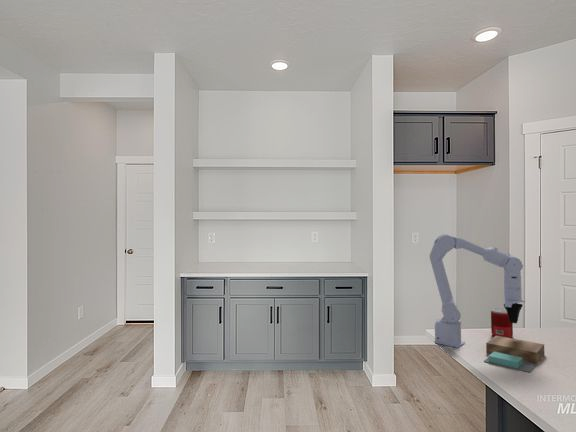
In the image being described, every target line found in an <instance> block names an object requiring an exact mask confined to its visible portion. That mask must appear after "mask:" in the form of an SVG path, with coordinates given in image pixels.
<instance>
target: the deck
mask: <svg viewBox="0 0 576 432" xmlns="http://www.w3.org/2000/svg"><path fill="white" fill-rule="evenodd" d="M485 346H486V347H485V348H486V349H485V350H486V354H487V355H490V354H491V353H493V352H499V353H503V354H508V355H513V356H517V357H522V358H523V361H525V362H529V363H534V364H537V365H538V364H539V363H540V362H541V360H542V359H543V358H544V357H545V344H543V343H540V342H533V341H527V340H522V339H518V338H517V339H516V338H513V337H512V338H507V337H501V336H495V337H494V336H493V337H492V338H490V340H488V341H487V342H485Z"/></svg>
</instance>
